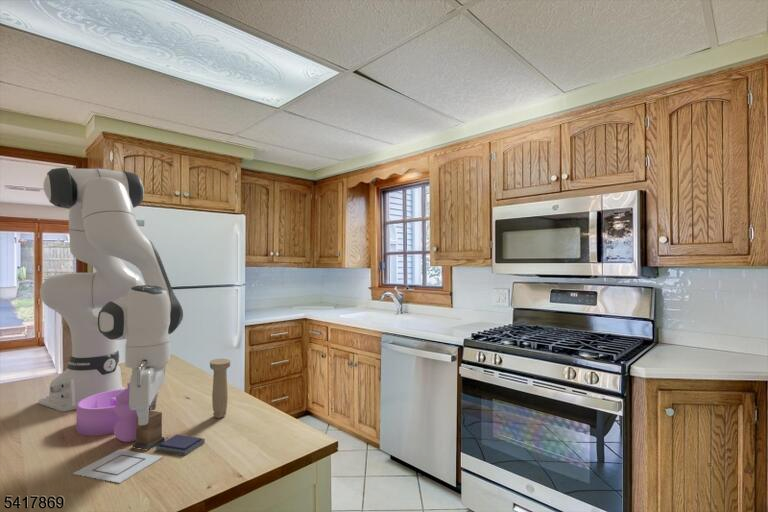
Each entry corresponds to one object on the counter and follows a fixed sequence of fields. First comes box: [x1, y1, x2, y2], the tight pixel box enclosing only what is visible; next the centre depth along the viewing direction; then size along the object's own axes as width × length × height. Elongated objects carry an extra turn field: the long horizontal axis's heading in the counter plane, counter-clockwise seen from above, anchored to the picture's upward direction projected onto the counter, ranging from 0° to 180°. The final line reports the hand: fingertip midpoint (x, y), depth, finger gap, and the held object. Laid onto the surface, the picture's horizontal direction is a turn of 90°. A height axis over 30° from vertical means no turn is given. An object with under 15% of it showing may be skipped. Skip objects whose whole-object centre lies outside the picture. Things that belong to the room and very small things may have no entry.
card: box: [72, 449, 163, 484], centre depth 80 cm, size 12×10×1 cm
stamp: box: [132, 410, 166, 451], centre depth 89 cm, size 4×4×7 cm
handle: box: [209, 358, 231, 419], centre depth 105 cm, size 5×6×15 cm
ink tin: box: [155, 434, 206, 457], centre depth 88 cm, size 8×6×1 cm
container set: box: [75, 381, 138, 443], centre depth 99 cm, size 25×15×13 cm, turn 51°
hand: (148, 416), depth 88 cm, fingers open, 8 cm apart
